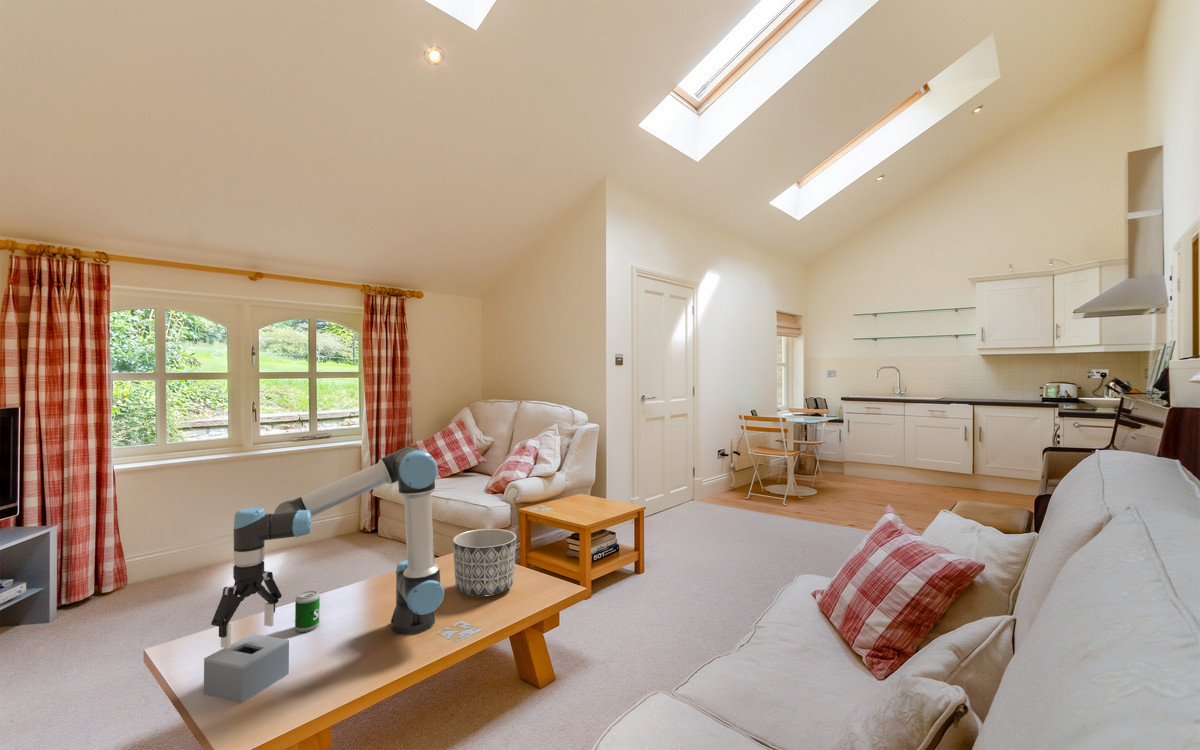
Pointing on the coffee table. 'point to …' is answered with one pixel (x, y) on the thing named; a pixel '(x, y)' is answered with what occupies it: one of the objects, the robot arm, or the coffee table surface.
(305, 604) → the soda can
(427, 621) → the robot arm
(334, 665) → the coffee table surface
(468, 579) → the planter
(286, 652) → the box
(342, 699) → the coffee table surface
